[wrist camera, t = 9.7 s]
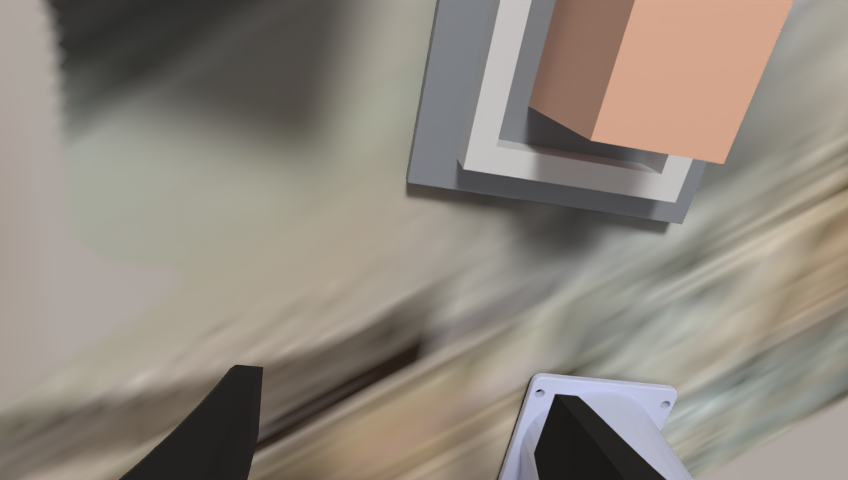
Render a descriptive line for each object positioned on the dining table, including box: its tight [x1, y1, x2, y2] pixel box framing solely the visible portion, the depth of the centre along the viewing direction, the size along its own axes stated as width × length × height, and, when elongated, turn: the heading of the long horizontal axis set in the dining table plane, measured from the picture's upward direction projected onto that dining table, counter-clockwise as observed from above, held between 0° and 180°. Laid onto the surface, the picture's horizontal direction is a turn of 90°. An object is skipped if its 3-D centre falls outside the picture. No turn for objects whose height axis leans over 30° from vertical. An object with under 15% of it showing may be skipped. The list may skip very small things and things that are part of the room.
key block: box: [528, 0, 794, 164], centre depth 15 cm, size 4×7×6 cm, turn 169°
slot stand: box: [406, 0, 708, 224], centre depth 17 cm, size 14×12×2 cm
